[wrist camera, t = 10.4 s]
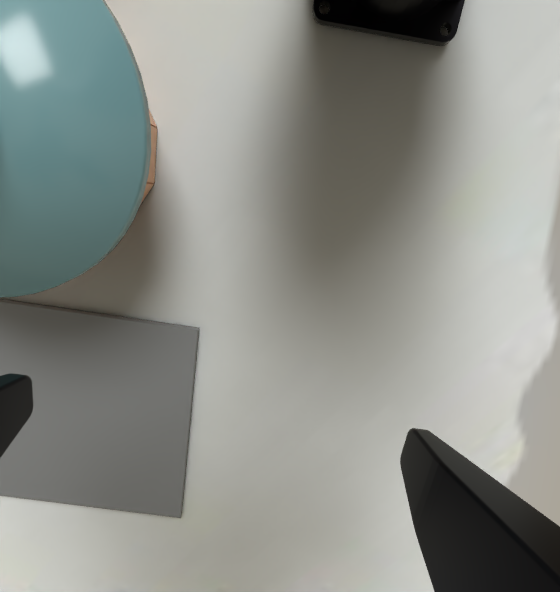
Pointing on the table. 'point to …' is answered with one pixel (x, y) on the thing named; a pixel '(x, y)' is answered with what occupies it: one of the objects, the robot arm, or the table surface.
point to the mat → (99, 408)
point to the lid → (66, 140)
